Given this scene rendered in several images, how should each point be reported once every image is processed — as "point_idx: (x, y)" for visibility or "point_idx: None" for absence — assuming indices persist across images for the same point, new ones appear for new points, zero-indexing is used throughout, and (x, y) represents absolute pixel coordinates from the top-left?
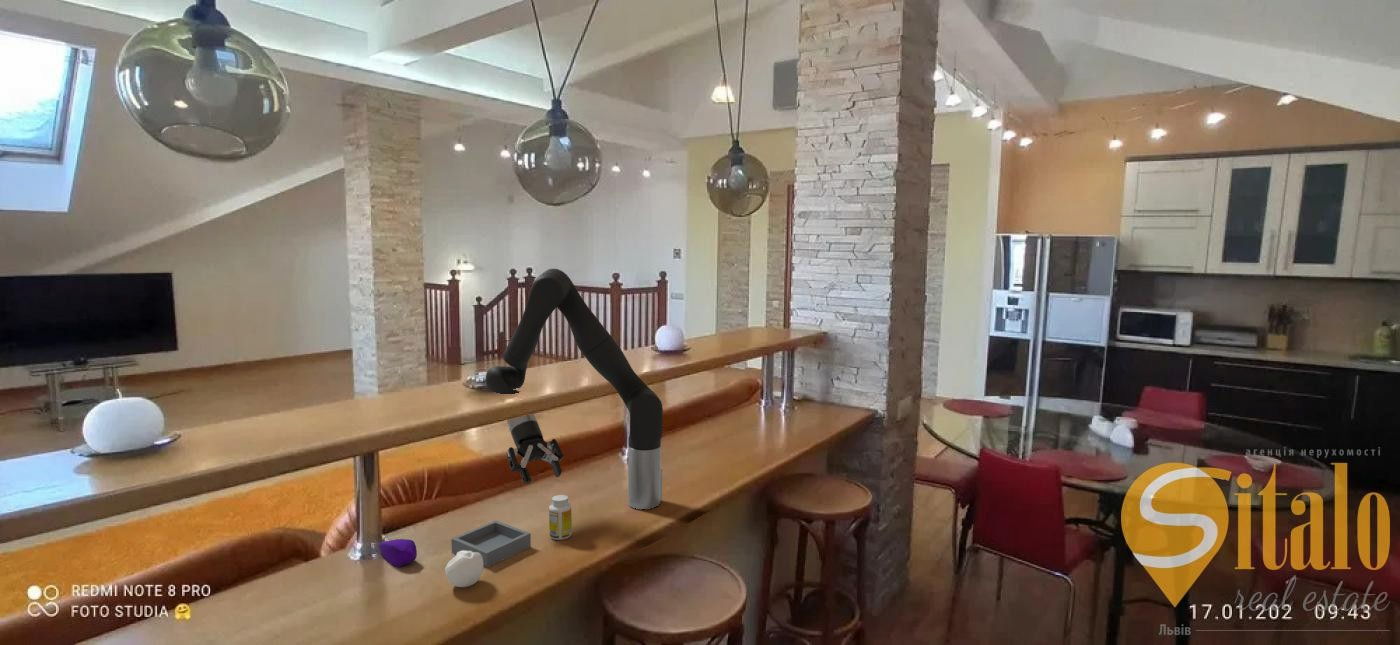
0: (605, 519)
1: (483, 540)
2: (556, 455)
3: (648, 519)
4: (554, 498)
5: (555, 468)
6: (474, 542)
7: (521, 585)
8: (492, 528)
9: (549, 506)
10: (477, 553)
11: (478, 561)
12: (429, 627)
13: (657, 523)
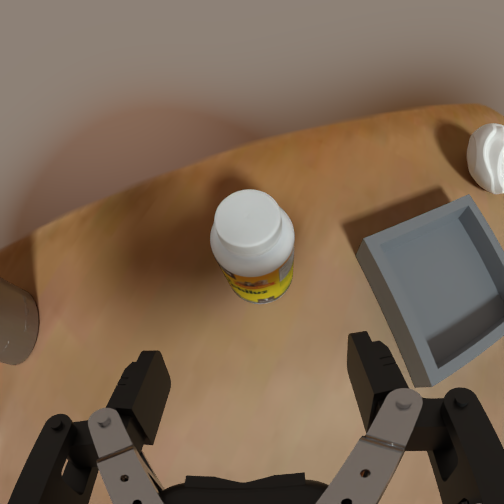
0: (112, 305)
1: (460, 328)
2: (77, 481)
3: (55, 248)
4: (271, 217)
5: (150, 390)
6: (478, 327)
7: (398, 129)
8: (439, 365)
9: (288, 249)
10: (487, 132)
11: (480, 127)
12: (499, 119)
13: (59, 222)
